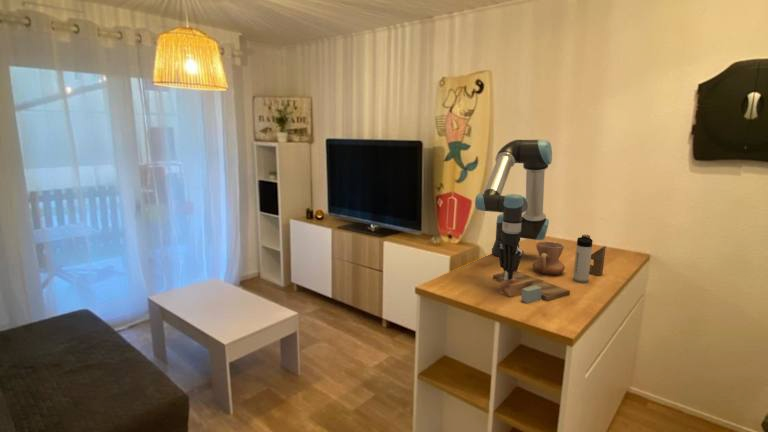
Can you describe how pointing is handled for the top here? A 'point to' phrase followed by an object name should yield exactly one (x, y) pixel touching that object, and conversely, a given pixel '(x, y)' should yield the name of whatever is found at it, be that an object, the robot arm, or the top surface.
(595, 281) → the top surface
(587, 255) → the travel mug
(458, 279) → the top surface
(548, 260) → the ceramic jug
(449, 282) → the top surface
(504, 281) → the brown wooden handled block
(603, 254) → the wooden block
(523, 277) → the board
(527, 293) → the block
